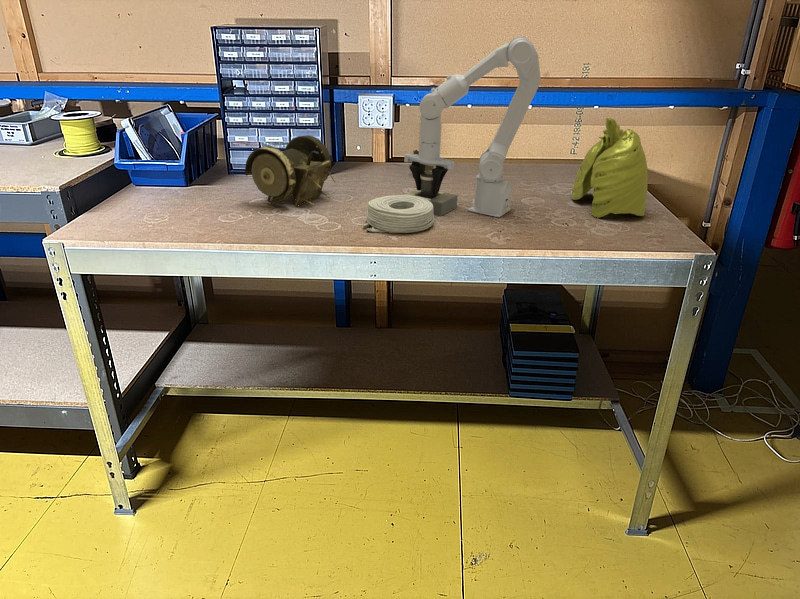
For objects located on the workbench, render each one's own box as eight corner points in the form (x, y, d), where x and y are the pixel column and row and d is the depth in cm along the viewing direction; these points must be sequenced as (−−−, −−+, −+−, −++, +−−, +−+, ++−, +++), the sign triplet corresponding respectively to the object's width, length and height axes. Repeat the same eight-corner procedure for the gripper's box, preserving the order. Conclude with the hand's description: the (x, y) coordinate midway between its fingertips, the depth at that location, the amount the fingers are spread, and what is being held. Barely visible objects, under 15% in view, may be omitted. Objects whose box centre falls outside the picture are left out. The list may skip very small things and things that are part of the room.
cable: (360, 233, 144) (359, 210, 141) (372, 211, 160) (372, 189, 157) (430, 238, 142) (431, 214, 139) (436, 215, 158) (437, 193, 155)
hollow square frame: (456, 207, 163) (457, 195, 161) (441, 215, 156) (441, 203, 155) (420, 199, 169) (420, 187, 167) (403, 207, 162) (403, 195, 160)
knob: (432, 202, 160) (432, 178, 156) (417, 199, 162) (417, 175, 158) (439, 197, 163) (440, 173, 160) (424, 194, 165) (425, 170, 162)
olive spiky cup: (435, 179, 188) (437, 154, 184) (412, 178, 188) (413, 153, 184) (434, 173, 195) (435, 148, 191) (412, 172, 194) (413, 148, 191)
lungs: (563, 194, 176) (575, 111, 165) (612, 193, 178) (628, 111, 167) (595, 222, 154) (612, 129, 143) (651, 221, 156) (672, 129, 145)
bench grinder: (235, 189, 162) (252, 127, 149) (284, 168, 179) (303, 111, 166) (291, 231, 159) (313, 172, 146) (336, 206, 176) (359, 150, 163)
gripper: (461, 142, 154) (457, 192, 160) (414, 135, 161) (413, 183, 167) (448, 147, 149) (445, 198, 155) (400, 139, 156) (399, 189, 162)
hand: (427, 191), depth 161 cm, fingers closed on knob, 5 cm apart
